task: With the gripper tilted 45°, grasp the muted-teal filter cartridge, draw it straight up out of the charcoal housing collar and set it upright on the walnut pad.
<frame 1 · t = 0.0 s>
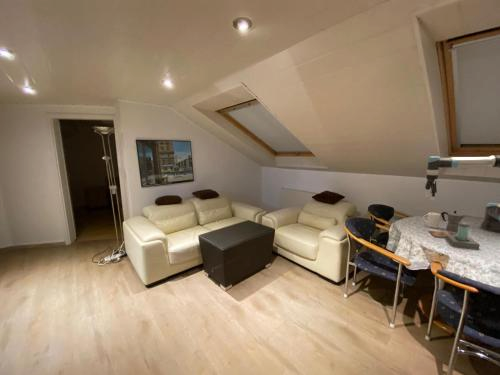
hand: (429, 198, 186), 28 cm above the table, tool pointing down, fingers open, 13 cm apart
mug: (430, 225, 196), on the table
cartridge: (462, 233, 157), in the housing
coffeepot: (450, 230, 184), on the table
pad: (443, 235, 175), on the table
housing: (461, 244, 159), on the table
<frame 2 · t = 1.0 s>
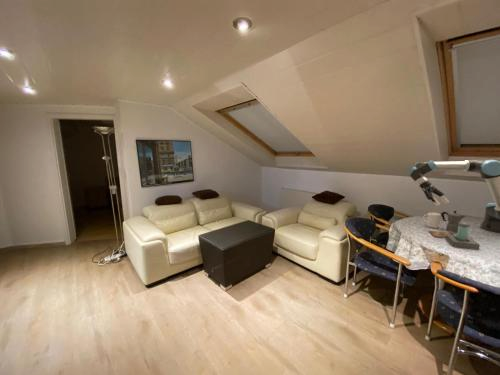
hand: (443, 204, 167), 28 cm above the table, tool tilted 45°, fingers open, 13 cm apart
nothing on the table moved.
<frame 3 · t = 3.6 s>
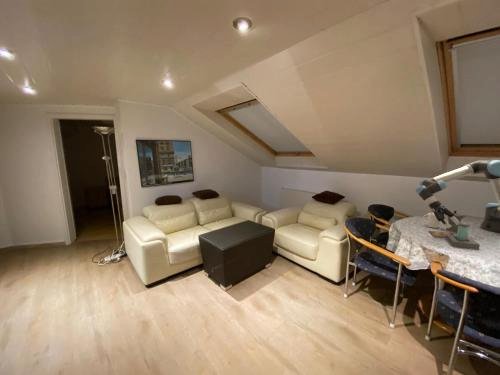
hand: (454, 225, 161), 13 cm above the table, tool tilted 45°, fingers open, 13 cm apart
nothing on the table moved.
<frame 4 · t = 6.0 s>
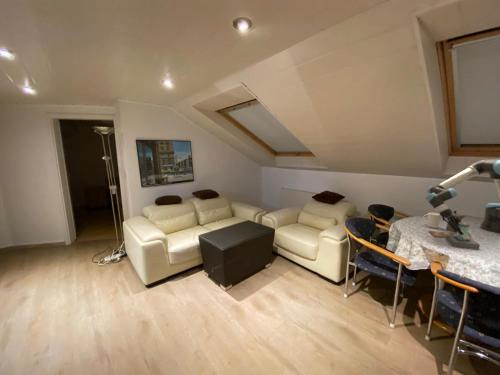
hand: (468, 237, 154), 7 cm above the table, tool tilted 45°, fingers closed on cartridge, 6 cm apart
cartridge: (462, 233, 157), in the housing, touching gripper
everything else where it was.
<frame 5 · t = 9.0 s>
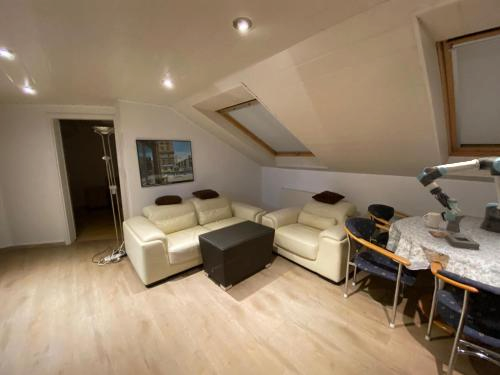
hand: (457, 212, 163), 22 cm above the table, tool tilted 45°, fingers closed on cartridge, 6 cm apart
cartridge: (451, 209, 166), point 24 cm above the table, touching gripper
everything else where it was.
when the fingers open (9 cm above the table, at t = 12.1 s): cartridge drops 1 cm, resting on pad.
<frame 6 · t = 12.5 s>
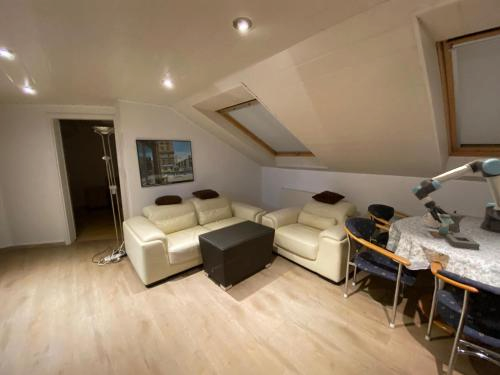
hand: (448, 225, 170), 10 cm above the table, tool tilted 45°, fingers open, 10 cm apart
cartridge: (444, 224, 173), on the pad, point 9 cm above the table
everything else where it was.
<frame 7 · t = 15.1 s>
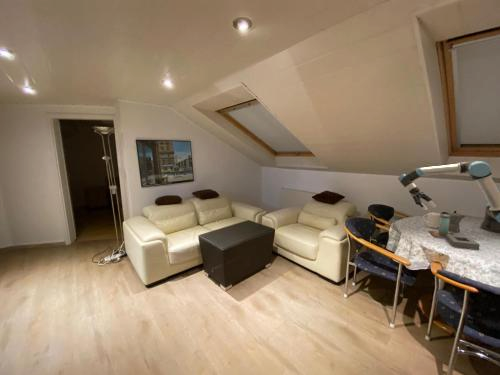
hand: (430, 208, 180), 21 cm above the table, tool tilted 45°, fingers open, 13 cm apart
nothing on the table moved.
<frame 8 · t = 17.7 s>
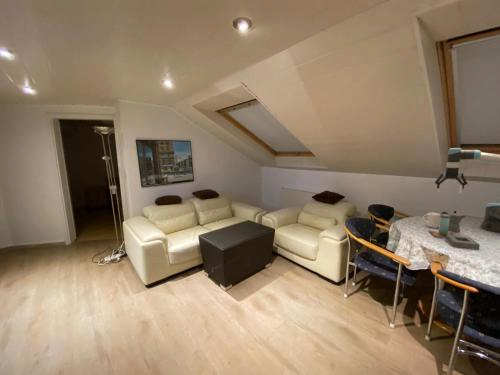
hand: (449, 192, 176), 35 cm above the table, tool pointing down, fingers open, 13 cm apart
nothing on the table moved.
at the end: cartridge inside the target area on the pad (0.0 cm from its centre), point 9.3 cm above the pad's base; cartridge tilted 1°; the gripper is holding nothing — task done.
